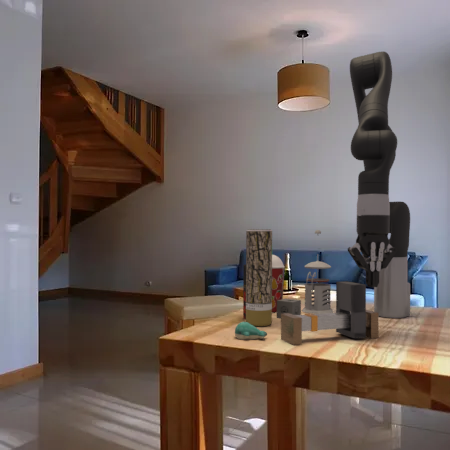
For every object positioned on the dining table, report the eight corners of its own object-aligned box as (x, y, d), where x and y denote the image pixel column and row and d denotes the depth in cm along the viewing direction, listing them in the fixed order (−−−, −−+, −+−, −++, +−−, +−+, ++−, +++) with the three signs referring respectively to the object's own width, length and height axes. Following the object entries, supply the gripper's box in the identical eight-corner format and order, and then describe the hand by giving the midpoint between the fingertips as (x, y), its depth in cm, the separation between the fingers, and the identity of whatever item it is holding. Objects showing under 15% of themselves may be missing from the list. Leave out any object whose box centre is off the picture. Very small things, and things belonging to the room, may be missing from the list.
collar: (346, 331, 115) (346, 281, 115) (365, 337, 108) (365, 284, 108) (336, 331, 114) (336, 281, 114) (354, 338, 107) (354, 285, 107)
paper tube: (270, 327, 120) (270, 229, 121) (243, 326, 122) (244, 229, 122) (273, 322, 127) (273, 229, 127) (247, 321, 128) (248, 229, 129)
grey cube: (292, 320, 131) (292, 302, 131) (276, 318, 134) (276, 300, 134) (300, 317, 135) (300, 300, 135) (285, 315, 138) (285, 298, 138)
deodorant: (241, 316, 135) (242, 264, 136) (262, 316, 136) (262, 264, 136) (244, 320, 129) (244, 265, 130) (266, 320, 130) (266, 265, 130)
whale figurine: (240, 335, 113) (240, 319, 113) (269, 337, 110) (269, 321, 110) (231, 340, 107) (231, 323, 107) (261, 343, 105) (261, 326, 105)
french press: (338, 310, 147) (338, 229, 148) (325, 315, 138) (325, 229, 138) (308, 307, 153) (309, 229, 153) (293, 312, 143) (294, 229, 143)
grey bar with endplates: (362, 332, 115) (362, 308, 115) (378, 337, 110) (378, 312, 110) (280, 339, 108) (281, 313, 108) (293, 345, 102) (293, 318, 102)
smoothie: (287, 309, 148) (287, 245, 148) (281, 314, 140) (281, 246, 140) (261, 308, 151) (261, 245, 151) (254, 312, 143) (254, 245, 143)
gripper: (385, 215, 119) (385, 284, 119) (340, 213, 115) (339, 285, 114) (406, 214, 112) (405, 288, 111) (358, 212, 107) (357, 289, 107)
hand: (372, 286), depth 113 cm, fingers closed
